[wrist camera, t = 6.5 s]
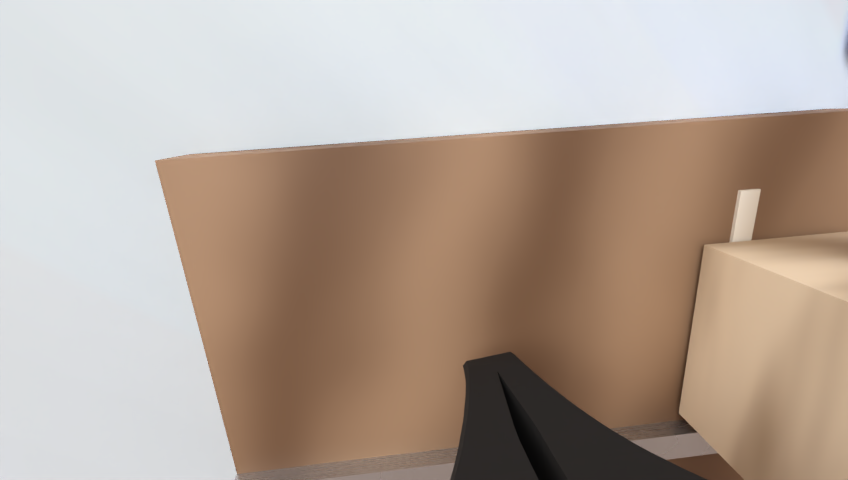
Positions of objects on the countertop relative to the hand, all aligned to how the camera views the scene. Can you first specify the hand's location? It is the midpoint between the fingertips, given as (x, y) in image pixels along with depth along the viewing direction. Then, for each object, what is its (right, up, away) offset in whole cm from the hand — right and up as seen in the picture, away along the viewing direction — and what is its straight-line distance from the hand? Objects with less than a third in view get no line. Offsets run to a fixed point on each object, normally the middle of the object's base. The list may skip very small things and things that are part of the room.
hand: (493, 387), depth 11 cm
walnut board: (+2, 0, +4) cm, 4 cm away
